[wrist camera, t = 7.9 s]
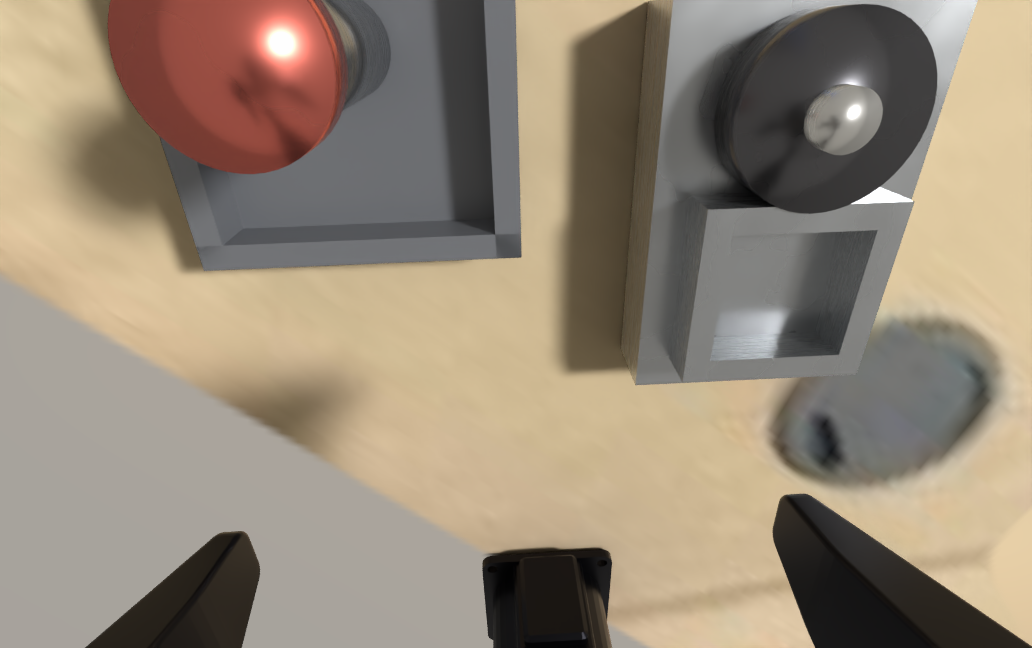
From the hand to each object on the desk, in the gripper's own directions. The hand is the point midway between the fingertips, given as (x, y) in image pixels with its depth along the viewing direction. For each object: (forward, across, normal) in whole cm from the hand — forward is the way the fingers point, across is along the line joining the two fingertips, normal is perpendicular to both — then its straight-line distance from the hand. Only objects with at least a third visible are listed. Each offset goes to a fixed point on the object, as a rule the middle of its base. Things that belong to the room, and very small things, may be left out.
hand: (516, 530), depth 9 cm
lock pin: (+11, +4, -7) cm, 14 cm away
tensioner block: (+12, -9, -2) cm, 15 cm away
